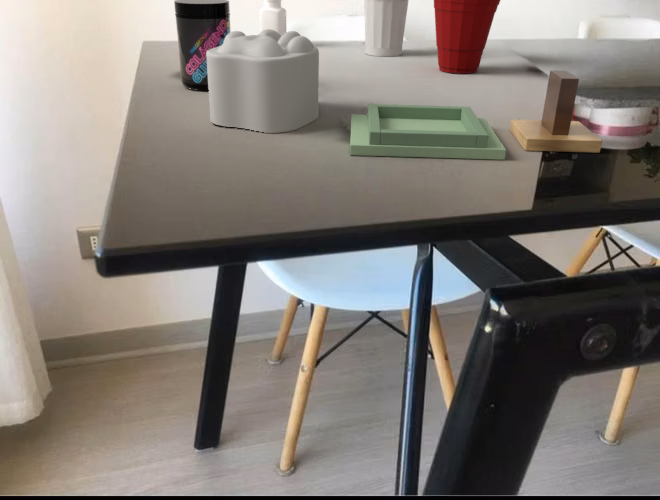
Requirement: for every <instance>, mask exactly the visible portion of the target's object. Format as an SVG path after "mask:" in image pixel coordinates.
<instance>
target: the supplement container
mask: <svg viewBox="0 0 660 500" xmlns="http://www.w3.org/2000/svg"><path fill="white" fill-rule="evenodd" d="M173 3H174V12H175V13H174V16H175V21H176V22H175V24H176V37H177V44H178V45H177V48H178V58H179V59H178V60H179V69H180V70H179V71H180V80H181V84H182V86H183V87H184V88H185V87H187V88H191V89H197V90H208V74H207V58H206V52H207V51H208V50H210V49H212V48H215V47H219V46H221V45H222V44H223V42H224V39H225V37H226V36H227V34H229V33H230V32H232V31H231V9H230V7H231V6H230V0H174V1H173ZM187 88H186V89H187Z"/></svg>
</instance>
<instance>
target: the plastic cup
mask: <svg viewBox="0 0 660 500" xmlns="http://www.w3.org/2000/svg"><path fill="white" fill-rule="evenodd" d="M500 2H501V0H433V8H434V25H435V26H434V27H435V39H436V40H435V42H436V43H435V44H436V48H437V49H436V50H437V65H438V69H439V71H441V72H444V73H449V74H463V75H464V74H474V73H476V72H478V70H479V69H478V68H479V67H480V64H481V60H482V56H483V53H484V51H485V50H484V49H486V45H487V41H488V39H489V35H490V31H491V28H492V24H493V21H494V17H495V15H496V12H497V10H498V7H499V5H500V4H501V3H500Z"/></svg>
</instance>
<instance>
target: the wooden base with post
mask: <svg viewBox="0 0 660 500" xmlns="http://www.w3.org/2000/svg"><path fill="white" fill-rule="evenodd" d="M579 82H580V78H578V77H576V76H575V75H574V74H572V73H570V72H569V71H568V70H554V69H553V70H550V71H549V77H548V82H547V88H546V93H545V99H544V105H543V106H544V107H543V110H542V118H541V120H540V119H510V126H509V132H510V133H511V134H512V136H513V137H514V138H515V139H516V141H517V142H518V143H519V145H520V146H521V147H522V148H523V149H524V151H527V152H556V153H557V152H559V153H560V152H562V153H593V154H594V153H595V154H596V153H597V154H599V153H601V149H602V144H603V140H602V139H601V138H599V137H598V136H597V135H596V134H595V133H594V132H593V131H591V130H590V129H589V128H588V127H586V126H585V125H584V124H583V123H582V122H580V121H579V120H572V119H573V113H574V109H575V108H574V107H575V103H576V97H577V93H578V87H579Z"/></svg>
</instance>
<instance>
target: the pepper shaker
mask: <svg viewBox="0 0 660 500" xmlns="http://www.w3.org/2000/svg"><path fill="white" fill-rule="evenodd" d="M258 23H259V26H258V27H259V33H260V32H262V31H264V30H267V29H270V30H274V31H276V32H278V33H279V34H280V35H281V36H282V35H284V34H285V33H287V32H288V31H287V9H286V8H283V7H282V0H263V7H262V8H260V9H259V10H258Z"/></svg>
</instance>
